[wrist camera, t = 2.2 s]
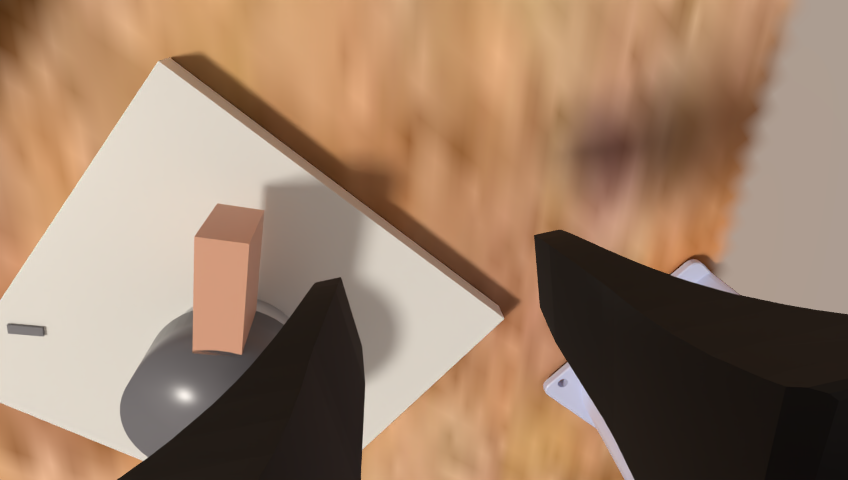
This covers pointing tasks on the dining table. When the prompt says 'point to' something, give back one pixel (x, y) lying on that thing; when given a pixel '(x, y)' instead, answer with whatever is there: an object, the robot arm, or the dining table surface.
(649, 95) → the dining table surface
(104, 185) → the joystick base
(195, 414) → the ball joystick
